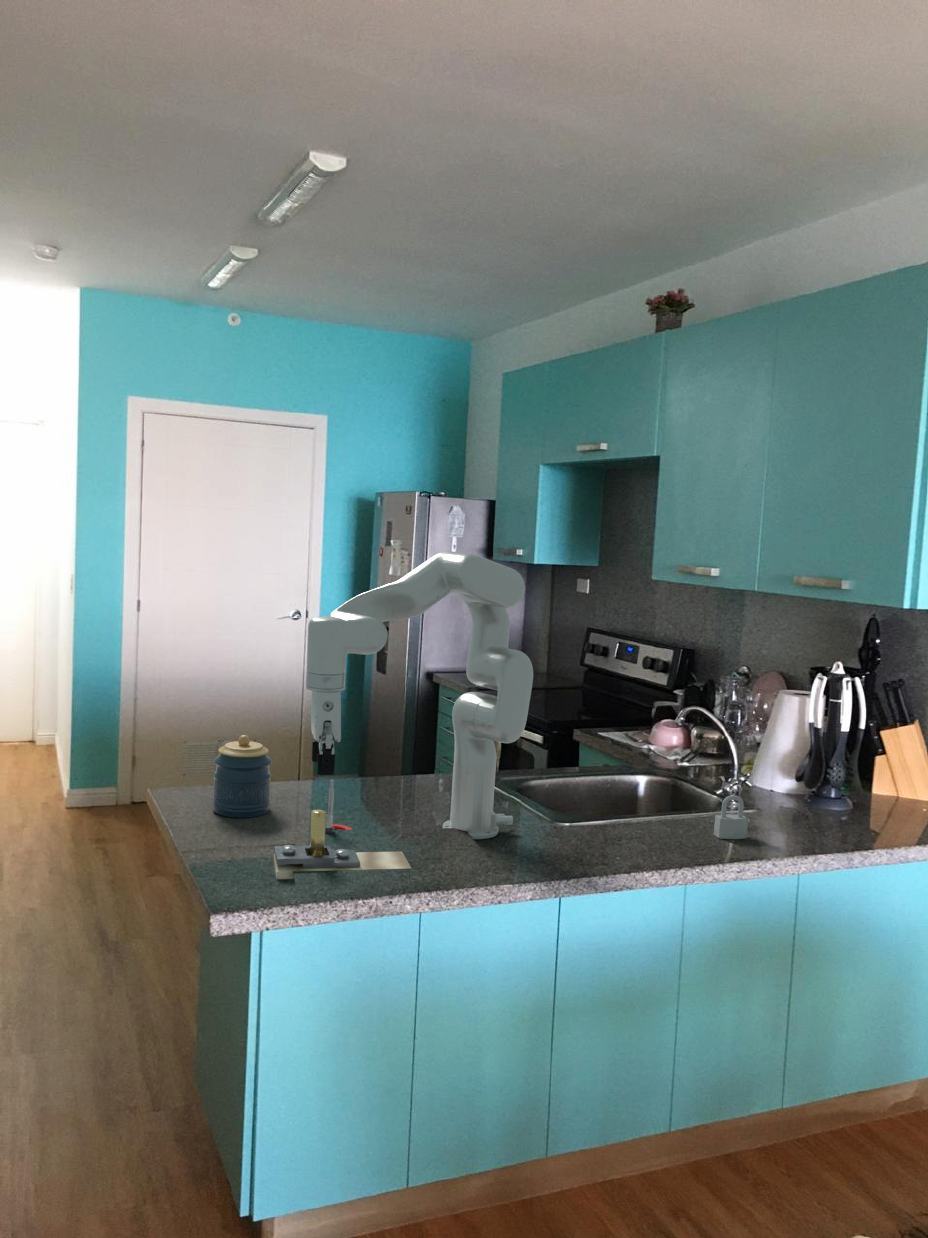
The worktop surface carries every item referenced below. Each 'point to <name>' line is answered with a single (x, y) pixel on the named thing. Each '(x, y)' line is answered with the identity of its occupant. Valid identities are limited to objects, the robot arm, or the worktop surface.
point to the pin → (317, 832)
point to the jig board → (366, 863)
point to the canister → (242, 779)
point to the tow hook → (329, 817)
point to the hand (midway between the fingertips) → (322, 767)
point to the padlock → (731, 821)
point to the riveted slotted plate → (316, 857)
